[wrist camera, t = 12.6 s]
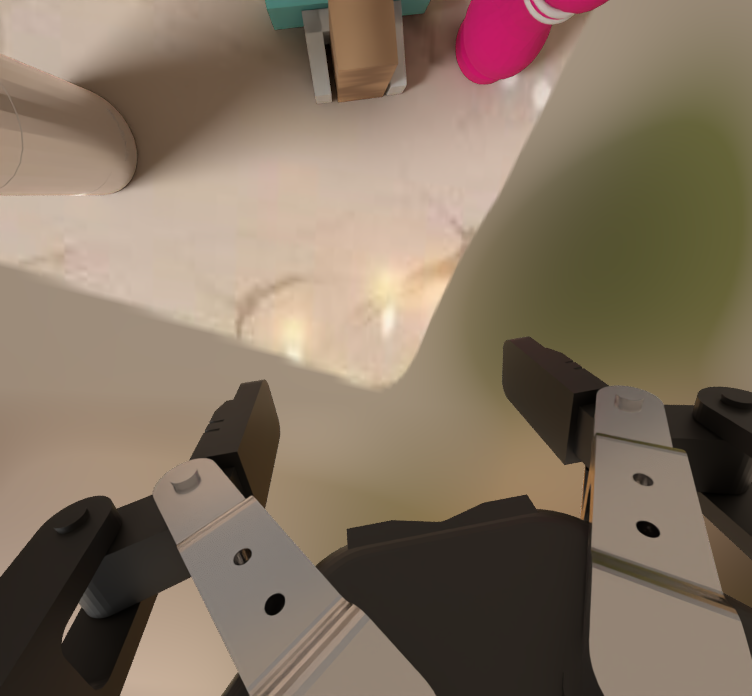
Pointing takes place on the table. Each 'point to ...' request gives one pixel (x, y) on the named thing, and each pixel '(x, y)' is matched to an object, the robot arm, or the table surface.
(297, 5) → the wall
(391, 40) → the peg
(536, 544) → the robot arm
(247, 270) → the table surface
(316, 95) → the frame
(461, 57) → the pepper mill
